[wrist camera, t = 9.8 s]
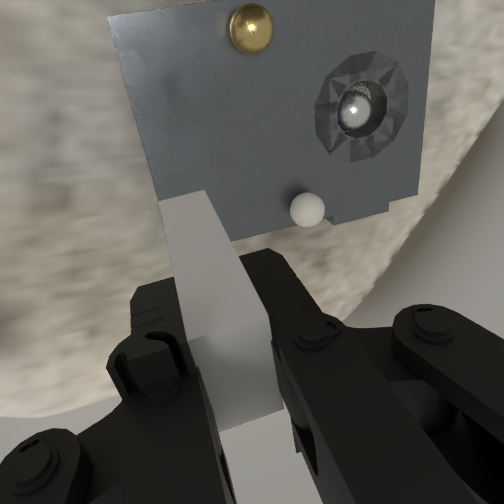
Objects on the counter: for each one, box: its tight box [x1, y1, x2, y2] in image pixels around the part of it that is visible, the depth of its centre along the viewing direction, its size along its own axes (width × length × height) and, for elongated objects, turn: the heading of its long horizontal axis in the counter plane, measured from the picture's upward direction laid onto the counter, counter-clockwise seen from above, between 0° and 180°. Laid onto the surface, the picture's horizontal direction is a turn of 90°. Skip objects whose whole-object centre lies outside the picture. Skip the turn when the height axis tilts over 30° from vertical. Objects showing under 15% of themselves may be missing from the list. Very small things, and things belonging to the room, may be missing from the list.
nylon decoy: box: [290, 192, 325, 227], centre depth 33 cm, size 3×3×3 cm
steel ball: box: [337, 90, 372, 131], centre depth 33 cm, size 3×3×3 cm
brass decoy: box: [230, 3, 275, 55], centre depth 26 cm, size 3×3×3 cm
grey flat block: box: [107, 0, 435, 241], centre depth 32 cm, size 24×20×2 cm
